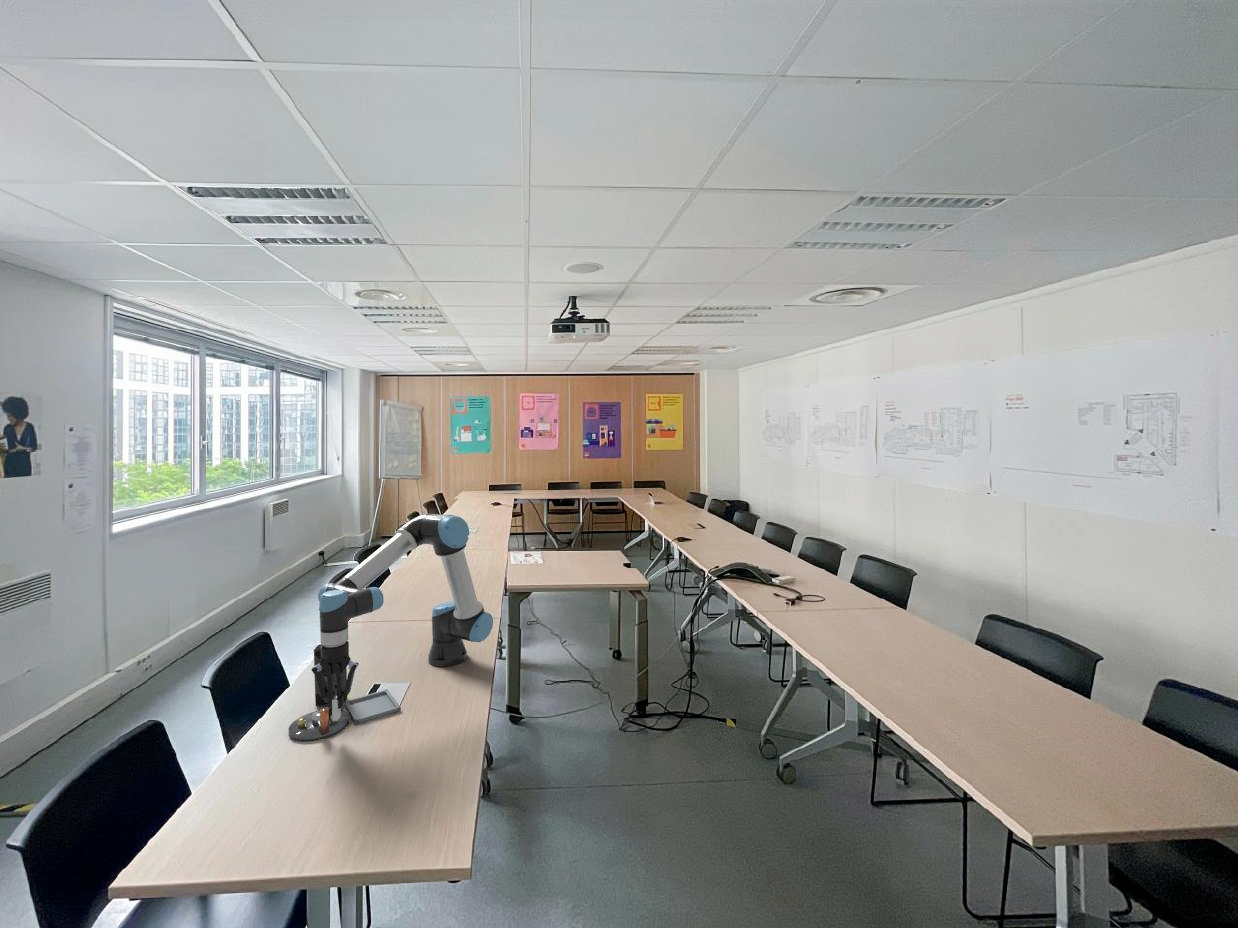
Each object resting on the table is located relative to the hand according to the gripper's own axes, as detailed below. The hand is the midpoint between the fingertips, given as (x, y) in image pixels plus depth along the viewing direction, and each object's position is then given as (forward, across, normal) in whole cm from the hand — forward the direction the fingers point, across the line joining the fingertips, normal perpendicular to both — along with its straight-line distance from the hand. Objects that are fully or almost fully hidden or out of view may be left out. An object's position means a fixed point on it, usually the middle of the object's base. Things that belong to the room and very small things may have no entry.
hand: (336, 718), depth 166 cm
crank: (+4, +6, -4) cm, 8 cm away
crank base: (+6, +8, -7) cm, 12 cm away
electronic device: (+6, +10, -23) cm, 26 cm away
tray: (+6, -5, -17) cm, 19 cm away
